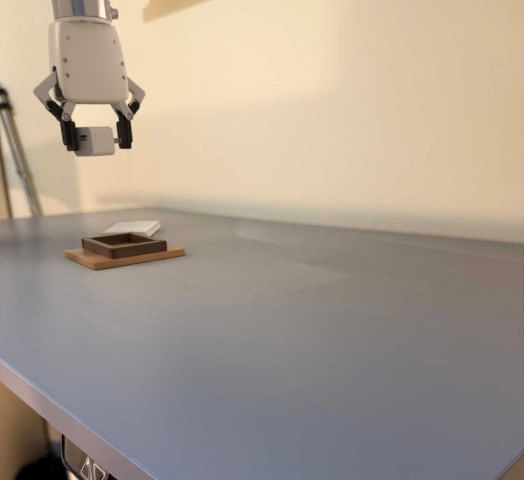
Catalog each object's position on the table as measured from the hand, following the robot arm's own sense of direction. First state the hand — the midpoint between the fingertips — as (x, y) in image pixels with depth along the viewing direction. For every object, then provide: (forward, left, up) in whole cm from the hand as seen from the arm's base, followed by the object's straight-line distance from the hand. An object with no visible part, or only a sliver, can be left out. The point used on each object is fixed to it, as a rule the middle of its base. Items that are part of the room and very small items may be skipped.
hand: (99, 149), depth 81 cm
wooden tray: (+7, -1, -15) cm, 17 cm away
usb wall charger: (0, 0, -1) cm, 1 cm away
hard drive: (-10, +8, -15) cm, 20 cm away
